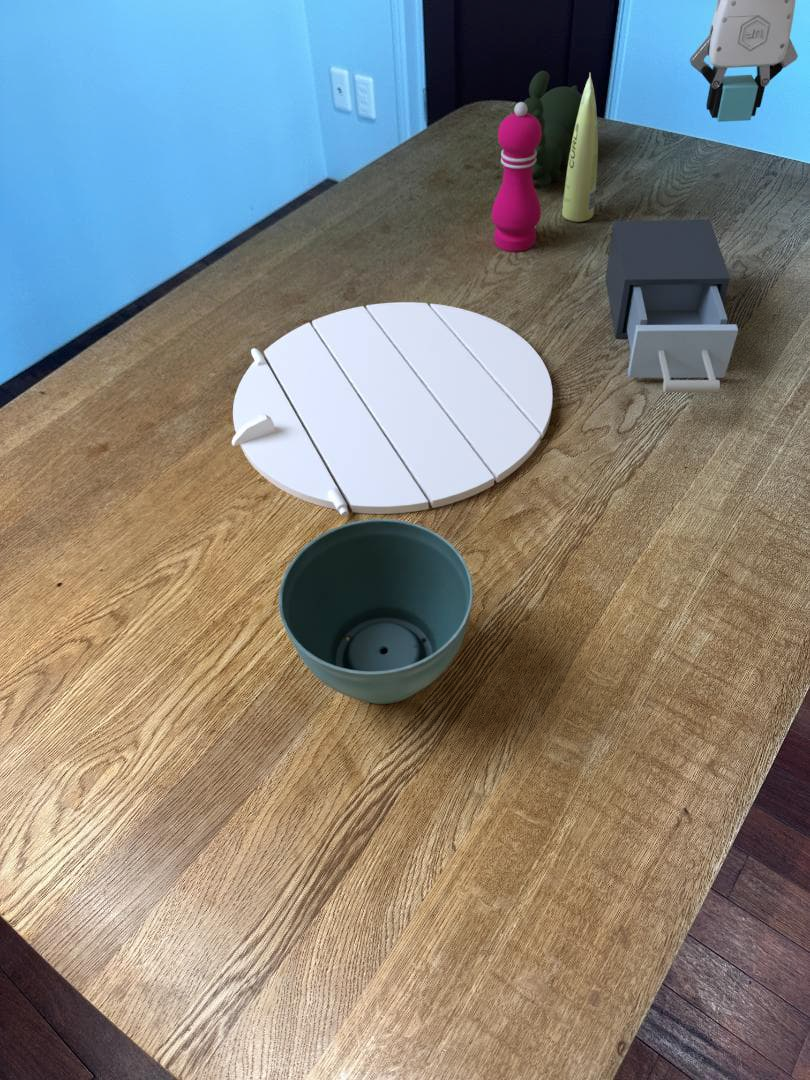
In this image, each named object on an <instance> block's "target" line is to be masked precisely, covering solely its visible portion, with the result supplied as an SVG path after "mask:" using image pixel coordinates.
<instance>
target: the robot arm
mask: <svg viewBox="0 0 810 1080" xmlns="http://www.w3.org/2000/svg"><path fill="white" fill-rule="evenodd" d="M795 7H796V0H717V2H716V5H715V8H714V12H713V16H712V20H711V24H710V28H709V32H708V36H707V38H706V39H705V40H704V41H703V42H702V43H701V44H700V45H699V47H698V48H697V49H696V50H695V51H694V53H693V54H692V55H691V57H690V58H689V63H690V65H691V66H692V68H694V69H695V70H696V71H698V72H699V73H700V74H701V75H702V76H703V77H704V79H705V80H706V81H707V83H708V84H709V89H708V95H707V100H706V104H705V105H706V110H707V111H709V114H710V116H711V119H717V118H716V117H717V116H718V111H719V106H720V101H721V96H722V91H723V89H722V87H721V84H722V80H723V77H724V76H726V74H727V73H726V72H727V70H728V69H732V68H753V67H756V76H755V77H754V80H755V82H756V84H757V85H758V89H757V94H756V98H755V103H754V107H753V111H752V116H751V117H755V116H756V114H757V108H758V109H759V108H761V105H762V102H763V97H764V93H765V89H766V86H769V84H770V82H771V81H772V80H773V79H774V78H775V77H776V76H777V75H778V74H779V73H781V72H782V70H783V69H785V68H786V67H788V66H790V65H791V64H792V63H795V61H797V59H798V55H799V54H798V53H797V50H796V49H795V46H794V44H793V42H792V40H791V32H792V28H793V27H792V26H793V20H794V15H795ZM707 56H708V59H709V62H710V64H711V65H712V67H711V66H710V64H709V63H707V62H706V61H705V58H706V57H707Z"/></svg>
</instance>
